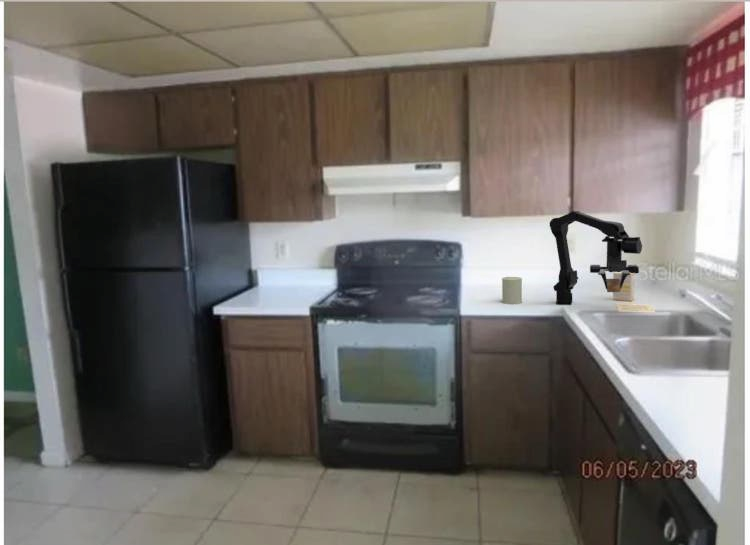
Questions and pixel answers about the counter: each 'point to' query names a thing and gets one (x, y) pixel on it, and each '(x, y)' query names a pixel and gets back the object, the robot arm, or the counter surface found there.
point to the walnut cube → (613, 285)
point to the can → (511, 290)
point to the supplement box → (625, 288)
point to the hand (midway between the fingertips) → (613, 288)
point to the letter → (635, 308)
